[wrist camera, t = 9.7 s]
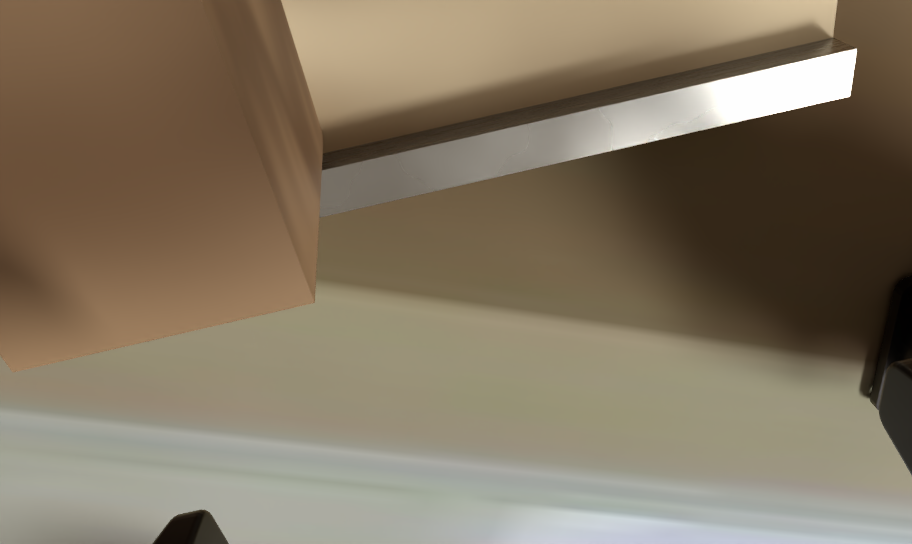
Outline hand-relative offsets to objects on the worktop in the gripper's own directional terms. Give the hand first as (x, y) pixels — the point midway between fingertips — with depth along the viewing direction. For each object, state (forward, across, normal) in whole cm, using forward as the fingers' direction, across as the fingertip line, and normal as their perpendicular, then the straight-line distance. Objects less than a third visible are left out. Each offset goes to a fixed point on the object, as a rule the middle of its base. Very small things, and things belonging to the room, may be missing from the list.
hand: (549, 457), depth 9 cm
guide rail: (+10, +1, 0) cm, 10 cm away
